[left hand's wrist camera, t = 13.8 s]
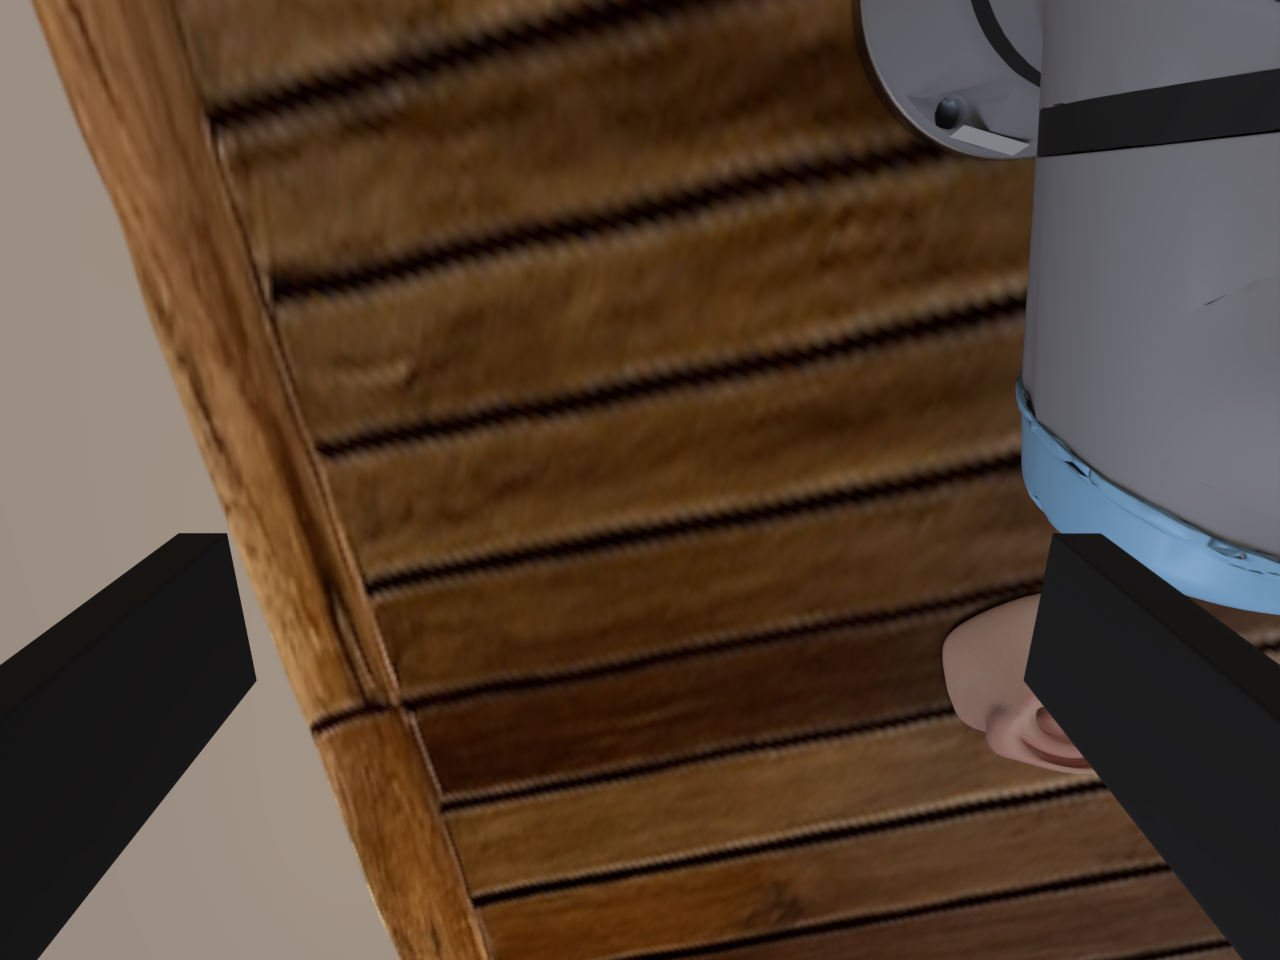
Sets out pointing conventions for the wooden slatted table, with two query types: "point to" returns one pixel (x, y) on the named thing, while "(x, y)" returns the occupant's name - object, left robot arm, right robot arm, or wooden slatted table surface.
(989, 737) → the anatomical model
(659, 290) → the wooden slatted table surface
